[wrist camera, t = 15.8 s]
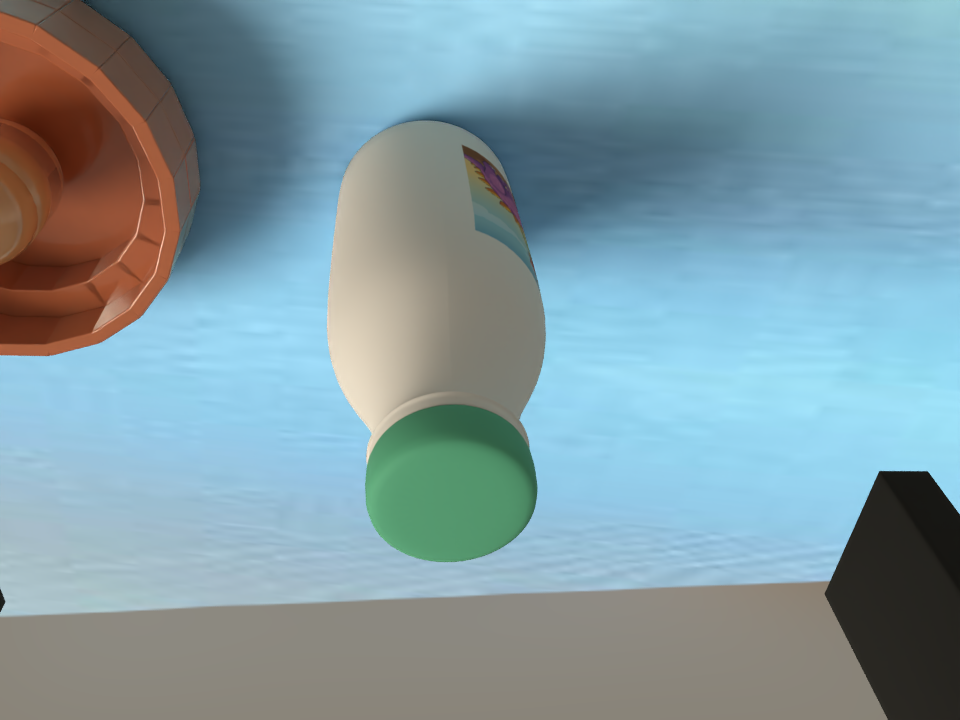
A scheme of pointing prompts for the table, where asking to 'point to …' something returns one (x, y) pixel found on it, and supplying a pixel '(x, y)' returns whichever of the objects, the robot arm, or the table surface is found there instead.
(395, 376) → the milk bottle
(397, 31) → the table surface
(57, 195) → the brown egg
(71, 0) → the bowl
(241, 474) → the table surface
